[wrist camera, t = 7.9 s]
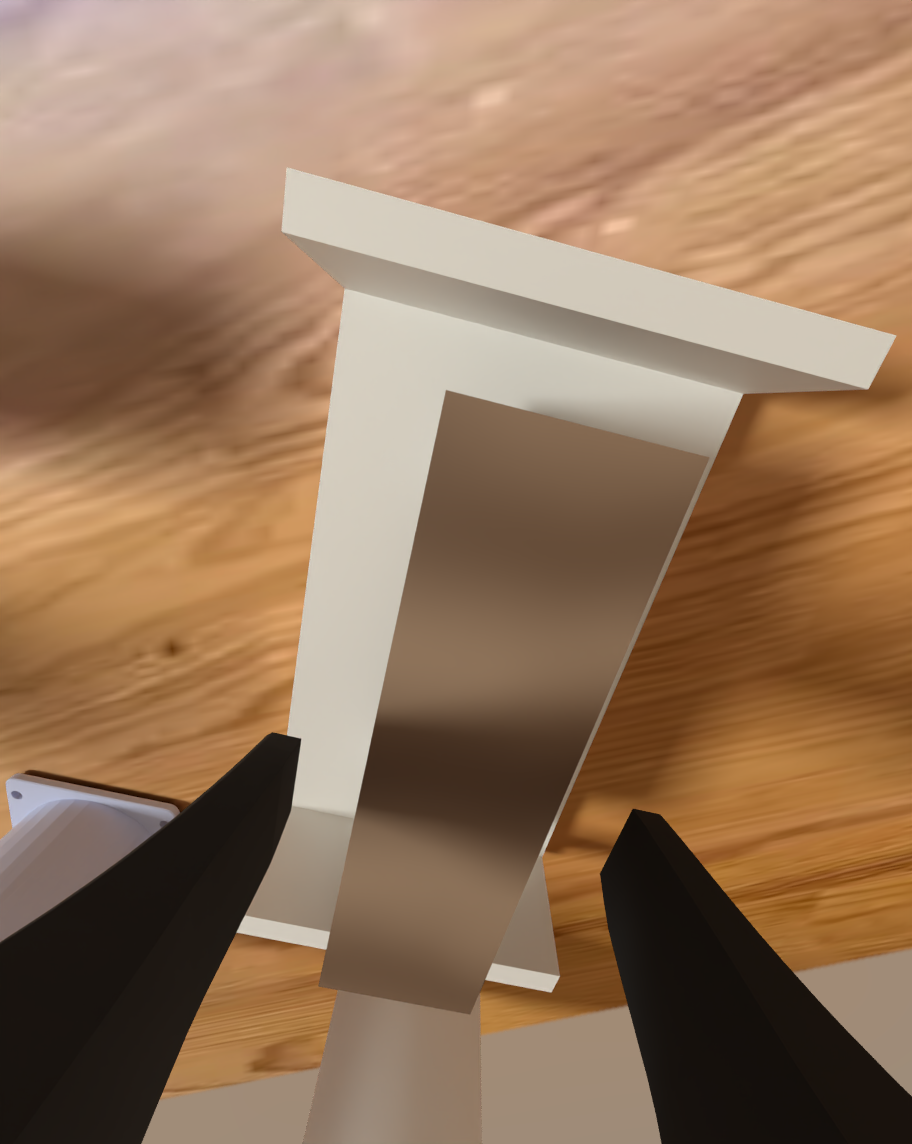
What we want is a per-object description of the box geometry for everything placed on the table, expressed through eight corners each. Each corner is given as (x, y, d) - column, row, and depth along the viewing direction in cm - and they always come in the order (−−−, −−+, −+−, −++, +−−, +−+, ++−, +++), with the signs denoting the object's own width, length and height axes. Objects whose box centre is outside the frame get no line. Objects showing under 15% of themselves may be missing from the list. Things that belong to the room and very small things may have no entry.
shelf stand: (528, 849, 22) (547, 1000, 17) (288, 800, 22) (222, 938, 16) (738, 345, 14) (911, 307, 9) (365, 244, 14) (289, 132, 8)
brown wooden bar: (470, 851, 18) (470, 1014, 13) (360, 828, 17) (318, 986, 13) (617, 436, 12) (710, 457, 7) (456, 395, 12) (445, 389, 7)
